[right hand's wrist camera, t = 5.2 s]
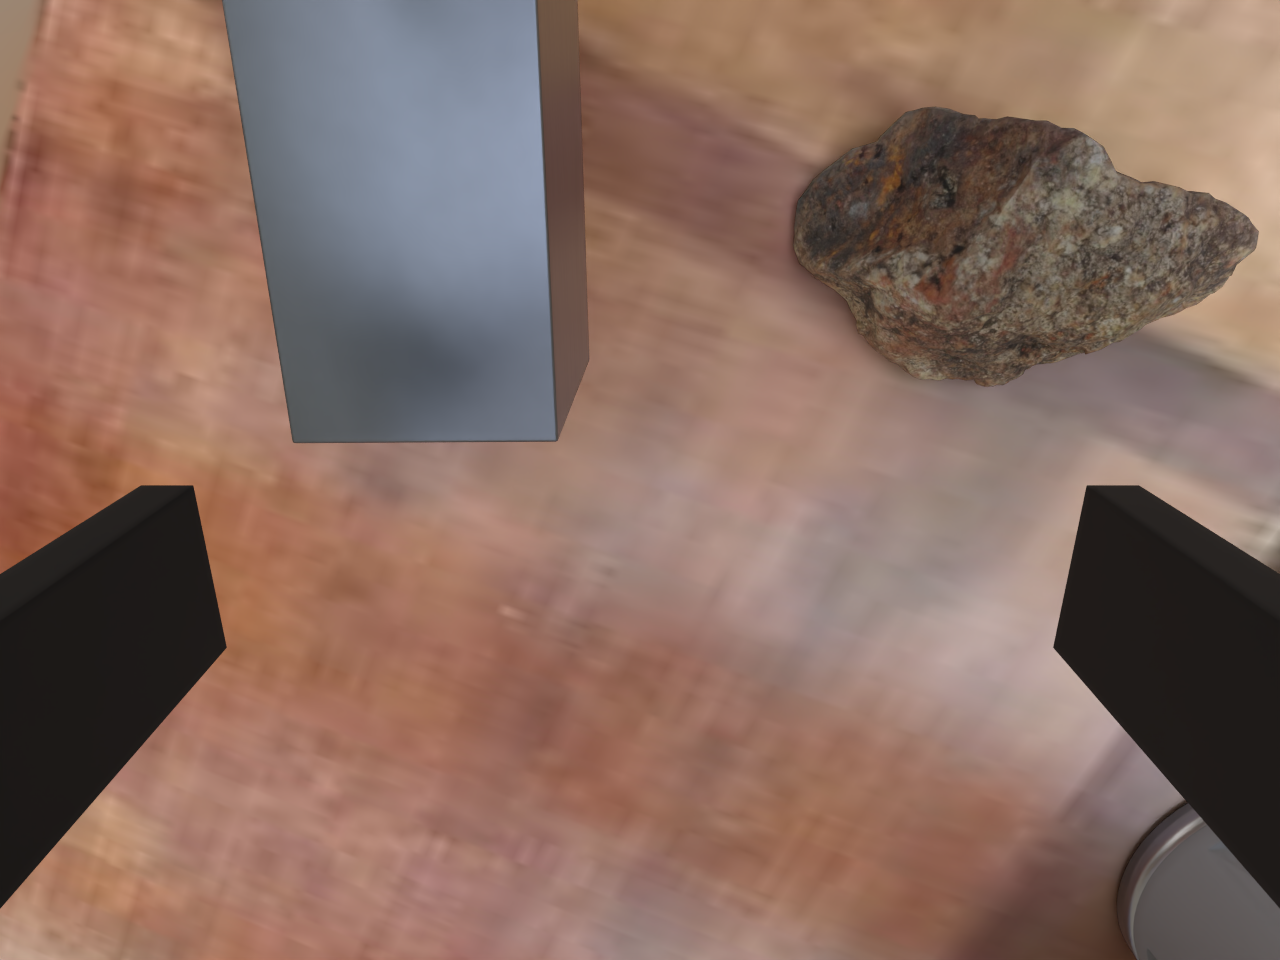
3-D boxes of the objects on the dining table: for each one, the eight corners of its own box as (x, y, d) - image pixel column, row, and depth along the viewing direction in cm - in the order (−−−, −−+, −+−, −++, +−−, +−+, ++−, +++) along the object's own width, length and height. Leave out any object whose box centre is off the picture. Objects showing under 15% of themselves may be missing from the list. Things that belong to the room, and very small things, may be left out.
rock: (901, 47, 32) (752, 264, 35) (967, -18, 24) (765, 272, 27) (1183, 259, 34) (1017, 451, 36) (1336, 266, 25) (1107, 514, 28)
